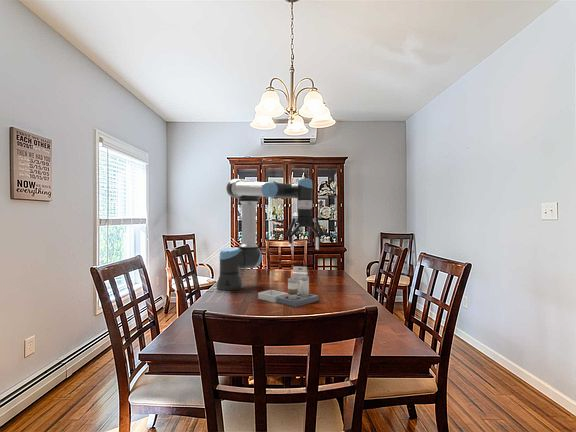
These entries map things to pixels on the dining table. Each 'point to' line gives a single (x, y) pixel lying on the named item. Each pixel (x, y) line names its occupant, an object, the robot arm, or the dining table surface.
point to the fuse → (304, 286)
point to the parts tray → (271, 295)
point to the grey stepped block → (299, 273)
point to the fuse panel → (298, 300)
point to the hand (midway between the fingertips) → (304, 250)
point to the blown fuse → (292, 288)
